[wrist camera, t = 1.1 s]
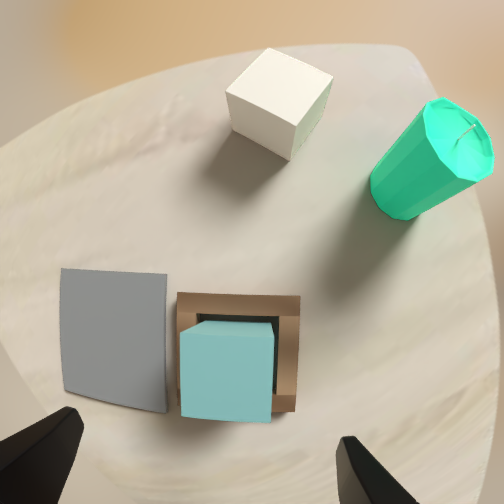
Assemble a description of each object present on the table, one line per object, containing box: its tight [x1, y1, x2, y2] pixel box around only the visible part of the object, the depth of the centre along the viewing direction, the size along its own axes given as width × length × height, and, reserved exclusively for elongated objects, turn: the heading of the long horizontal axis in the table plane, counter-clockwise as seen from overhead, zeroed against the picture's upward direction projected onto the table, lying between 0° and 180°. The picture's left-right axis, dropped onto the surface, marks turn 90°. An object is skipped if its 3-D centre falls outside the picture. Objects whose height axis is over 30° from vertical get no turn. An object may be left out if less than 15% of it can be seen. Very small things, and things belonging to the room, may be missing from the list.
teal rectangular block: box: [180, 320, 274, 423], centre depth 19 cm, size 5×5×8 cm
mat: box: [60, 268, 168, 413], centre depth 23 cm, size 12×11×1 cm
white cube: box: [225, 48, 334, 161], centre depth 22 cm, size 6×6×6 cm
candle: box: [370, 97, 495, 221], centre depth 18 cm, size 6×6×12 cm
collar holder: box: [177, 292, 300, 412], centre depth 22 cm, size 9×9×2 cm
